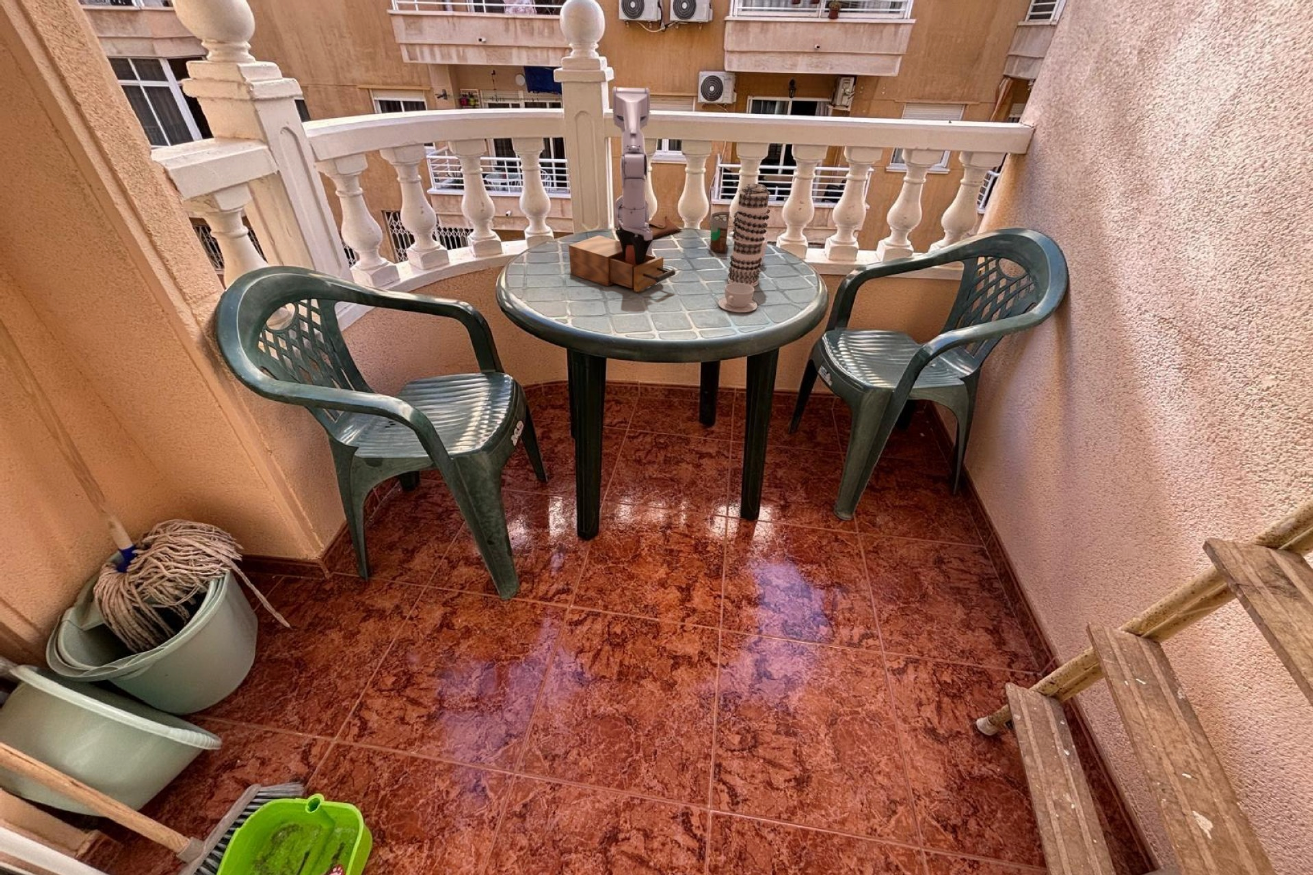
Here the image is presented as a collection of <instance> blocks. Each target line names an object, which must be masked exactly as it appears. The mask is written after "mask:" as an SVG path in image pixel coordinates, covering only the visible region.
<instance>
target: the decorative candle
mask: <svg viewBox="0 0 1313 875" xmlns="http://www.w3.org/2000/svg"><path fill="white" fill-rule="evenodd" d="M738 193H739V195H738V202H737V205H736V206H737V207H736V210H737V211H736V212H734V215H733V218H734V219H733V222H732V224H733V229H732V232H733V233H732V236H731V237H732V240H733V241H734V242H733V248H732V249H731V255H730V257H729V258H730V261H729V264H730V266H729V268H728V272H729V273H728V275H727V277H728V279H727V282H728V284H730V283H744V284H748V285H751V286H752V287H753V288H755V287H756V286H758V284H759V278H760V276H759V275H760V273H761V270H760V268H761V266H762V265H761V264H760V262H761V260H762V258H761V252H762V251H761V248H762V243H763V242H764V239H766V238H765V237H764V234H766V233H767V229H766V228H768V223H766V221H767V220H769V219H770V215H769V214H770V212H771V209H769V198H770V195H771V192H770V191H768V187H767V186H766V185H764V184H761V183H760V184H759V183H747V184H744V185H743V186H742V188H741V189H739V190H738Z"/></svg>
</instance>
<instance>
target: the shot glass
mask: <svg viewBox="0 0 1313 875" xmlns="http://www.w3.org/2000/svg"><path fill="white" fill-rule="evenodd" d="M768 242H769V241H768V240H767V239H766V238H765V239H764V242H763V243H762V248H761V251H762V252H761V258H762V260H761V262H760V264H761V266H763V263H764V259H765V255H766V250H767V246H768Z"/></svg>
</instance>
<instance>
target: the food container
mask: <svg viewBox="0 0 1313 875" xmlns="http://www.w3.org/2000/svg"><path fill="white" fill-rule="evenodd" d="M729 222H730V211H717V212H714V213H711V215H710V217H709V220H708V224H709V225H710V245H709V246H710V250H711V251H713V252H715V253H719V254H726V249H727V240H728V232H729Z"/></svg>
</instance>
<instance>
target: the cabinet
mask: <svg viewBox="0 0 1313 875" xmlns="http://www.w3.org/2000/svg"><path fill="white" fill-rule="evenodd" d="M622 253H623V251H622V247H621V243H620V241H619V240H616V239H614V238H609V237H607V236H606V237H605V236H603V235H595V236H592V237H590V238H586V239H583V240H581V241H577V242H573V243H571V244H568V256H569V257H568V258H569V271H570V274H571V275H574V276H576V277H580V278H583V279H585V280H588V281H590V282H591V281H592V282H595V283H598V284H600V285H603V286H606V287H609V286H611V285H614V284H615V283H613V282H610V281H609V259H608V258H611V257H614V256H617V255H619V254H622Z"/></svg>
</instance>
